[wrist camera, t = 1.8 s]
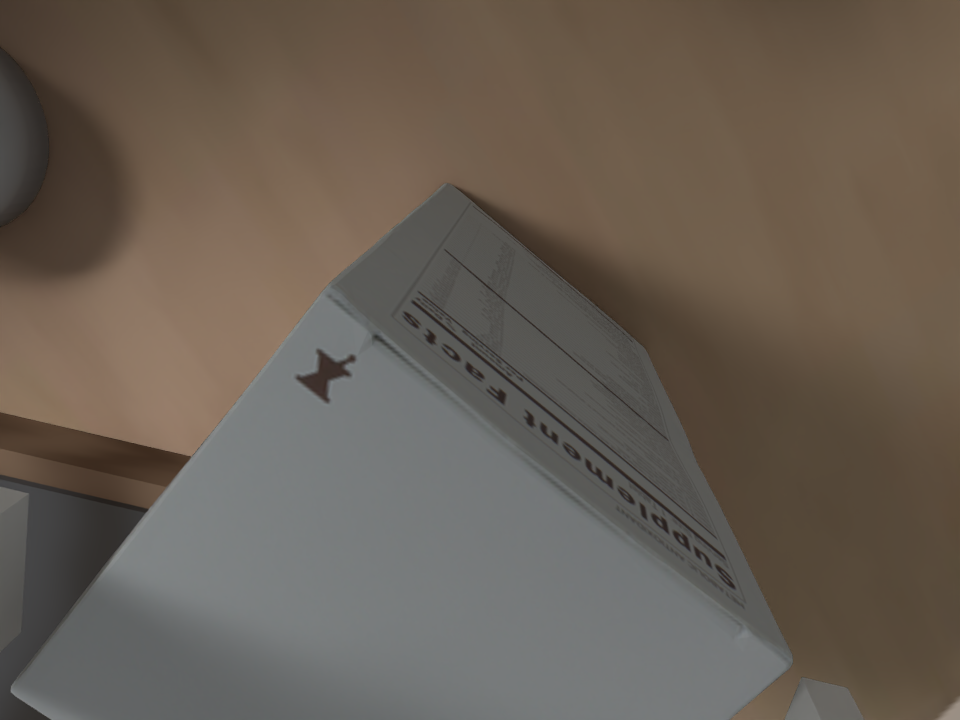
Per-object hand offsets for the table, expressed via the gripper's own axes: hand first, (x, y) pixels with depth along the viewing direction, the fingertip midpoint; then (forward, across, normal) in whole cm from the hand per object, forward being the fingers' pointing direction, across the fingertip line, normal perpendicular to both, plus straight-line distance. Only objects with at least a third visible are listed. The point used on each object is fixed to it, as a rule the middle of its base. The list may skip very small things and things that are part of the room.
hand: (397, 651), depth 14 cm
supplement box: (+16, 0, 0) cm, 16 cm away
